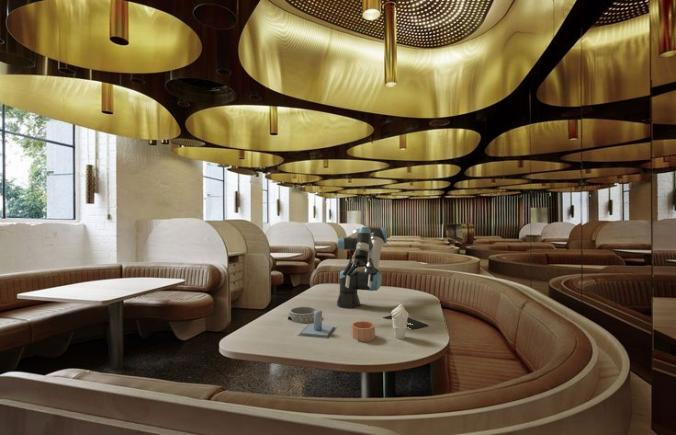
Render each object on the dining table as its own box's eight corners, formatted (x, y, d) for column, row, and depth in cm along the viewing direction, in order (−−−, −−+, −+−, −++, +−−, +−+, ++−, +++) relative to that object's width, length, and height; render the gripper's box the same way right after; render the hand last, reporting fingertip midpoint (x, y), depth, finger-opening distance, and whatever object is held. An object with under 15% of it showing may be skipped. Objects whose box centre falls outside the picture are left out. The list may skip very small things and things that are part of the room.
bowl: (354, 332, 162) (354, 320, 162) (376, 334, 159) (376, 322, 159) (349, 340, 151) (349, 327, 151) (373, 342, 148) (373, 329, 148)
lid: (309, 326, 169) (309, 307, 169) (333, 328, 166) (333, 308, 166) (301, 334, 156) (301, 314, 156) (327, 337, 153) (327, 316, 153)
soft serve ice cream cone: (398, 341, 149) (398, 307, 149) (387, 336, 157) (387, 303, 157) (412, 338, 153) (412, 305, 153) (401, 333, 161) (401, 301, 161)
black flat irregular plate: (409, 332, 164) (430, 326, 172) (409, 331, 164) (430, 324, 172) (378, 319, 185) (397, 314, 193) (378, 317, 185) (397, 312, 193)
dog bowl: (309, 313, 195) (309, 304, 195) (325, 321, 180) (325, 311, 180) (283, 317, 186) (283, 308, 186) (297, 326, 171) (297, 316, 171)
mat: (307, 326, 171) (307, 324, 171) (337, 328, 167) (337, 327, 167) (297, 337, 155) (297, 335, 155) (329, 340, 152) (329, 338, 152)
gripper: (340, 250, 191) (335, 285, 181) (379, 247, 180) (376, 284, 169) (346, 255, 197) (341, 289, 187) (384, 253, 185) (381, 288, 175)
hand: (357, 287), depth 178 cm, fingers open, 13 cm apart
